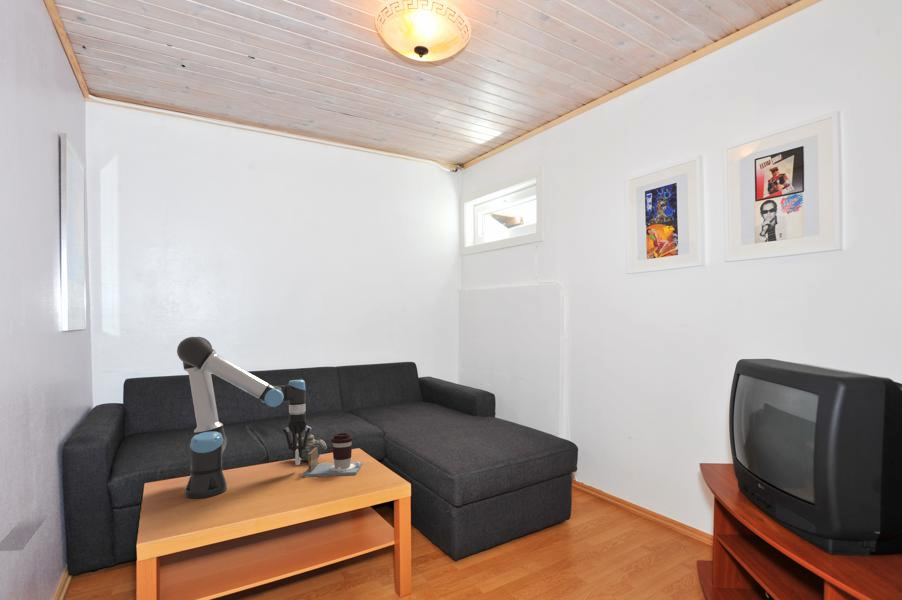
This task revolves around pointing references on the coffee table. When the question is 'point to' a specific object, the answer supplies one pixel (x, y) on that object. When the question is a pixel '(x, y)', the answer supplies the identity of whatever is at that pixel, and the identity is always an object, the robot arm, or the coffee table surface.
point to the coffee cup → (342, 450)
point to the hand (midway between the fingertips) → (297, 464)
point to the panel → (312, 459)
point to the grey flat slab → (333, 470)
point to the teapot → (311, 446)
